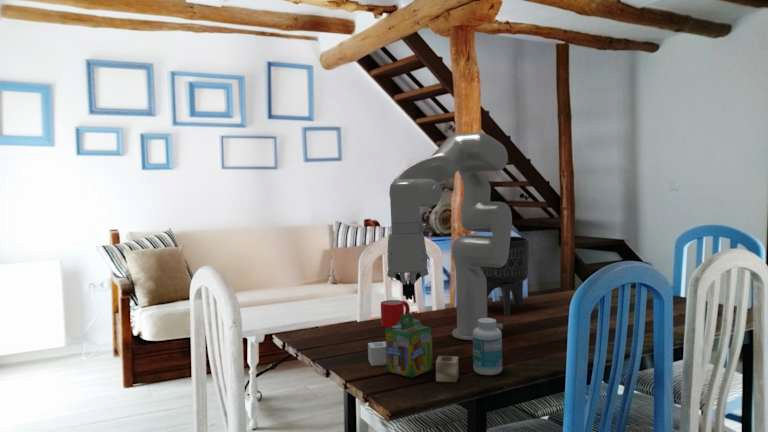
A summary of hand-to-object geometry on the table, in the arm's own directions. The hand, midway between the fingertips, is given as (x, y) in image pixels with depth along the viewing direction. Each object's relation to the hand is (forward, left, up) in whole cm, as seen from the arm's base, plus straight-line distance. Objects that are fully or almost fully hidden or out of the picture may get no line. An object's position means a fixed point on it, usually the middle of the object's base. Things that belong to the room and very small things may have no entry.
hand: (408, 298), depth 156 cm
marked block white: (+8, -8, -19) cm, 22 cm away
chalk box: (0, 0, -19) cm, 19 cm away
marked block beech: (-9, +7, -19) cm, 22 cm away
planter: (-39, -63, -19) cm, 76 cm away
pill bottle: (-20, +3, -19) cm, 28 cm away
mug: (+1, -49, -19) cm, 52 cm away
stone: (-1, -20, -19) cm, 28 cm away
